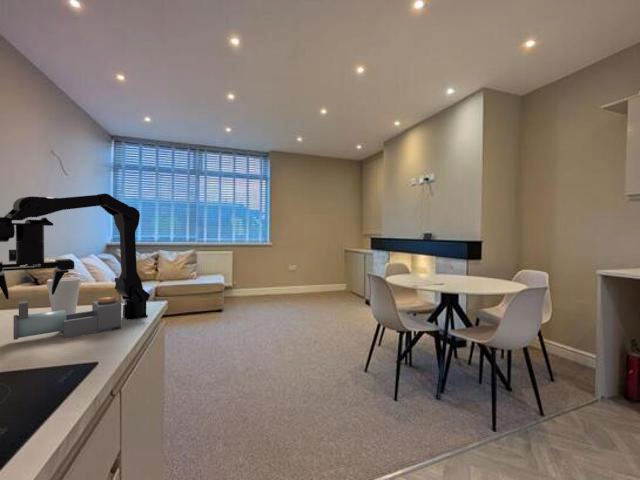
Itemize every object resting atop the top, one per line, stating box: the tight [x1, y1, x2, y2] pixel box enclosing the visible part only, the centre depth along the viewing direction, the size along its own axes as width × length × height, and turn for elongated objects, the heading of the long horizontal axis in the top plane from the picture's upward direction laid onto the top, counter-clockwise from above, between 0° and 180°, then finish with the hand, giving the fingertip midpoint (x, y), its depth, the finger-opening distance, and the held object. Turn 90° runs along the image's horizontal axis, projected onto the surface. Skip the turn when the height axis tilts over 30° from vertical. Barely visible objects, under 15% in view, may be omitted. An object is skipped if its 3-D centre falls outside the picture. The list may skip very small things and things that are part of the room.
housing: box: [59, 299, 122, 340], centre depth 94 cm, size 14×10×8 cm
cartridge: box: [13, 300, 66, 341], centre depth 86 cm, size 11×7×10 cm, turn 136°
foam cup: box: [46, 276, 82, 314], centre depth 110 cm, size 10×9×13 cm
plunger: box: [97, 296, 116, 305], centre depth 97 cm, size 5×5×4 cm
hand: (31, 296), depth 85 cm, fingers open, 9 cm apart
